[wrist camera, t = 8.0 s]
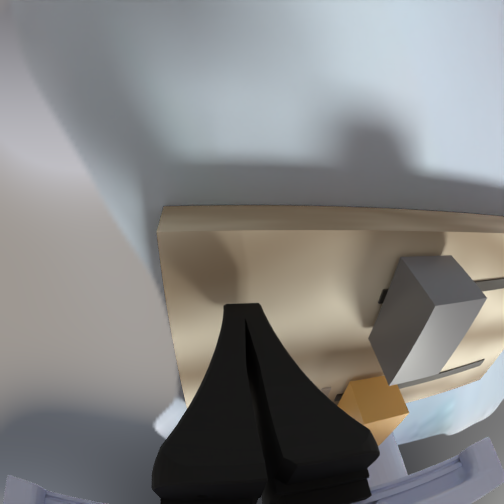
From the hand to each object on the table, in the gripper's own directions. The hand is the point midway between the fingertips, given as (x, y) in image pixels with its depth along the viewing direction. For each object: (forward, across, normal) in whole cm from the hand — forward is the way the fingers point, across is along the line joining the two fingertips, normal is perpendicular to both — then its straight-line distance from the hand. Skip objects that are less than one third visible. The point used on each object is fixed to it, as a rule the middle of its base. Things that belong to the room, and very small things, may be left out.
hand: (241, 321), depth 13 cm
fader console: (+3, -10, +4) cm, 11 cm away
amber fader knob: (+1, -8, +9) cm, 12 cm away
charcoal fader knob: (+1, -8, 0) cm, 8 cm away
